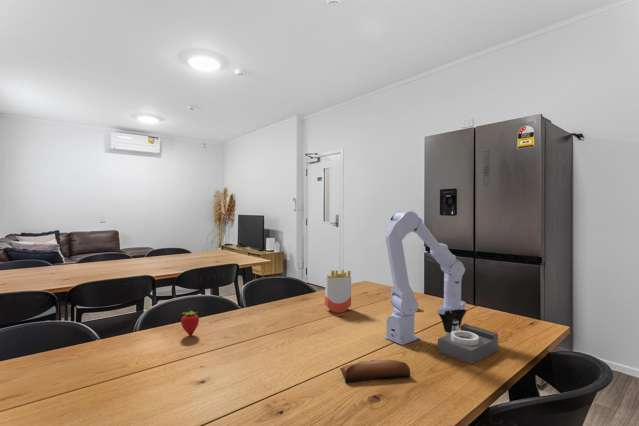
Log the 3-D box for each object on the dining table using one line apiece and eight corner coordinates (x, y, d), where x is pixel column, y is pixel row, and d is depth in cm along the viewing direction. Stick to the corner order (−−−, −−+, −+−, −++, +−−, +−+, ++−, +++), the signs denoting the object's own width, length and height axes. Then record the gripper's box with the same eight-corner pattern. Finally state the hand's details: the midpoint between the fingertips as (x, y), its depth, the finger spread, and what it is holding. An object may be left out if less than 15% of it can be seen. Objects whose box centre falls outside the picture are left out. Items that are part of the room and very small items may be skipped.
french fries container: (324, 309, 150) (324, 269, 149) (347, 307, 153) (347, 268, 152) (327, 312, 145) (327, 271, 145) (351, 310, 148) (351, 269, 148)
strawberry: (180, 340, 114) (180, 311, 114) (181, 332, 121) (181, 305, 121) (198, 338, 116) (198, 309, 116) (199, 331, 123) (199, 303, 123)
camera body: (471, 364, 98) (471, 345, 98) (437, 351, 107) (437, 334, 106) (497, 350, 107) (497, 333, 107) (465, 339, 116) (465, 323, 116)
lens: (454, 337, 118) (454, 323, 118) (442, 333, 122) (442, 320, 122) (461, 334, 121) (461, 320, 121) (449, 331, 124) (450, 317, 124)
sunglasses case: (398, 363, 98) (402, 348, 95) (406, 386, 92) (412, 371, 89) (337, 368, 95) (340, 353, 92) (342, 392, 89) (346, 377, 86)
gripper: (451, 298, 113) (450, 338, 114) (473, 291, 122) (473, 329, 122) (433, 293, 119) (432, 332, 119) (455, 288, 128) (455, 323, 128)
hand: (452, 330), depth 121 cm, fingers open, 5 cm apart
